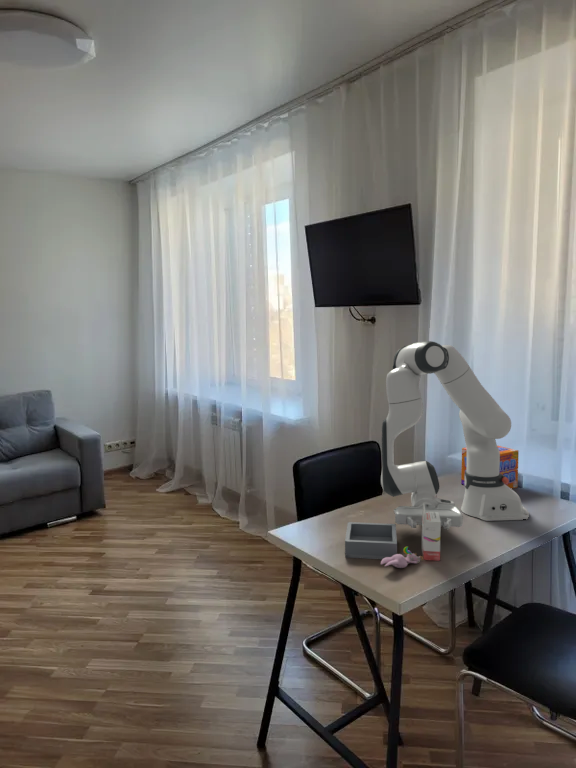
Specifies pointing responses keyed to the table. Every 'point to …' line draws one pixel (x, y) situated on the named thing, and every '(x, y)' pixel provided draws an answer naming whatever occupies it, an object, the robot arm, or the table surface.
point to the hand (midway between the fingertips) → (430, 526)
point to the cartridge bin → (370, 540)
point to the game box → (506, 465)
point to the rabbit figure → (402, 559)
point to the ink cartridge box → (431, 535)
